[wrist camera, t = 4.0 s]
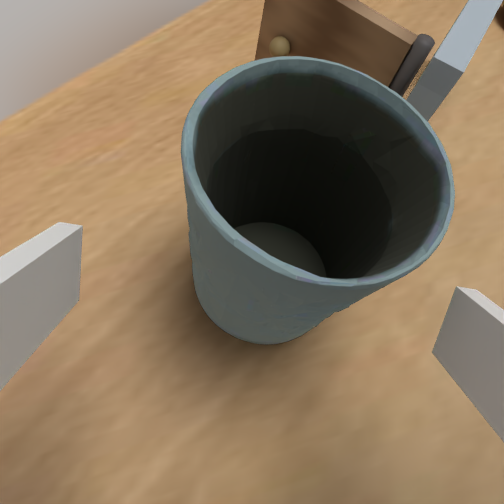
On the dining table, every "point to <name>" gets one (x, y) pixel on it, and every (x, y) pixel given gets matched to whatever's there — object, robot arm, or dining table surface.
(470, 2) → the grey rectangular arch
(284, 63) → the teal cup
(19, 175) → the dining table surface
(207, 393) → the dining table surface
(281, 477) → the dining table surface
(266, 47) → the door
